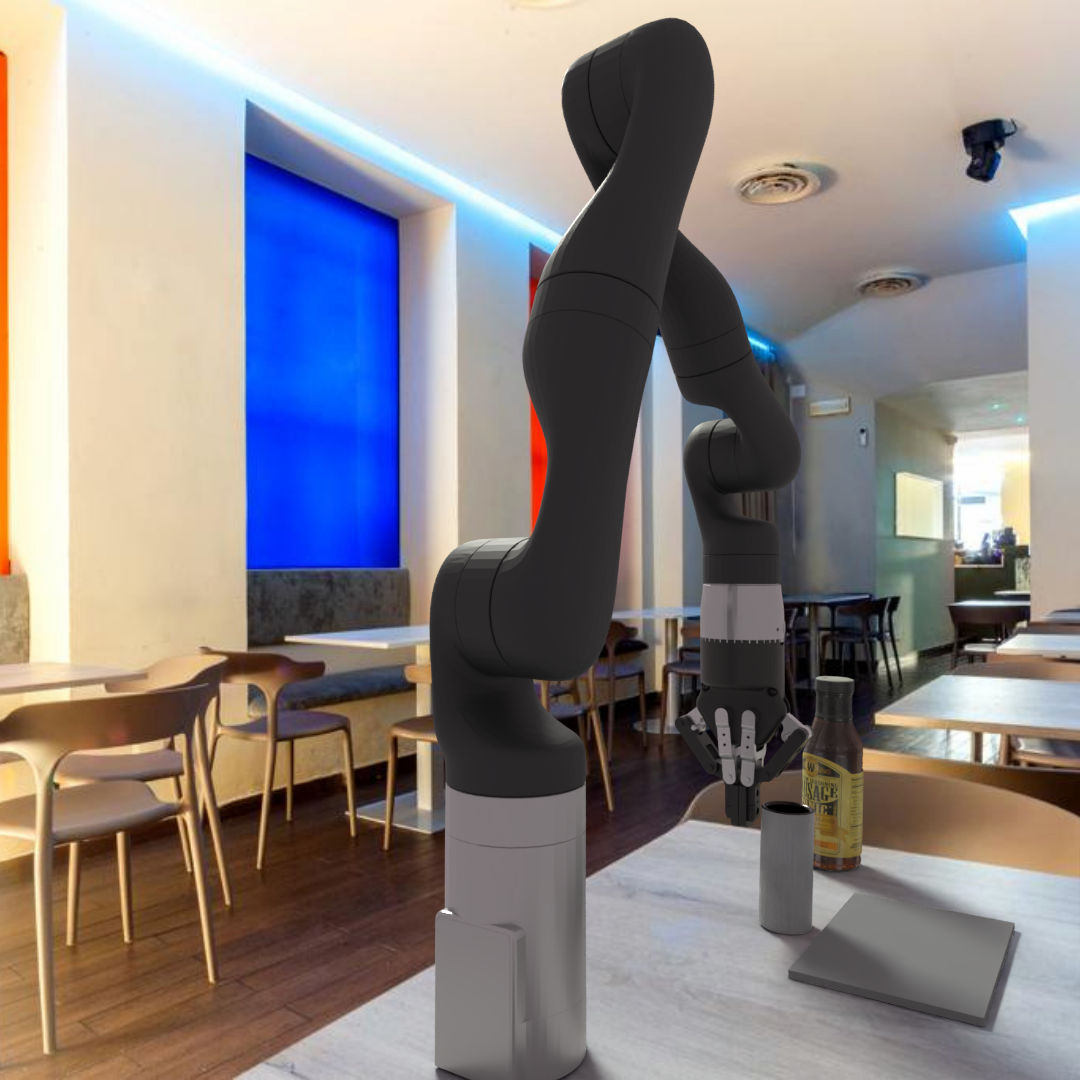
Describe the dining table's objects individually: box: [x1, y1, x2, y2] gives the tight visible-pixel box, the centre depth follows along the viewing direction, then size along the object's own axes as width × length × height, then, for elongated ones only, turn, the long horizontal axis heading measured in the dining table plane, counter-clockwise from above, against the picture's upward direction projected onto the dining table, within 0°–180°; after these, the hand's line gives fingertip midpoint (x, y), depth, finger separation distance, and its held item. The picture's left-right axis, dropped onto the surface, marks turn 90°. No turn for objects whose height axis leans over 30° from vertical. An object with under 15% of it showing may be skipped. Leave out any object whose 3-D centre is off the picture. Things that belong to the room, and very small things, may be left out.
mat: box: [787, 892, 1015, 1028], centre depth 73 cm, size 20×14×1 cm
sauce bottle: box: [801, 675, 865, 872], centre depth 95 cm, size 7×6×20 cm
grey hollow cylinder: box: [758, 800, 814, 936], centre depth 78 cm, size 4×4×10 cm
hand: (743, 824), depth 81 cm, fingers closed
